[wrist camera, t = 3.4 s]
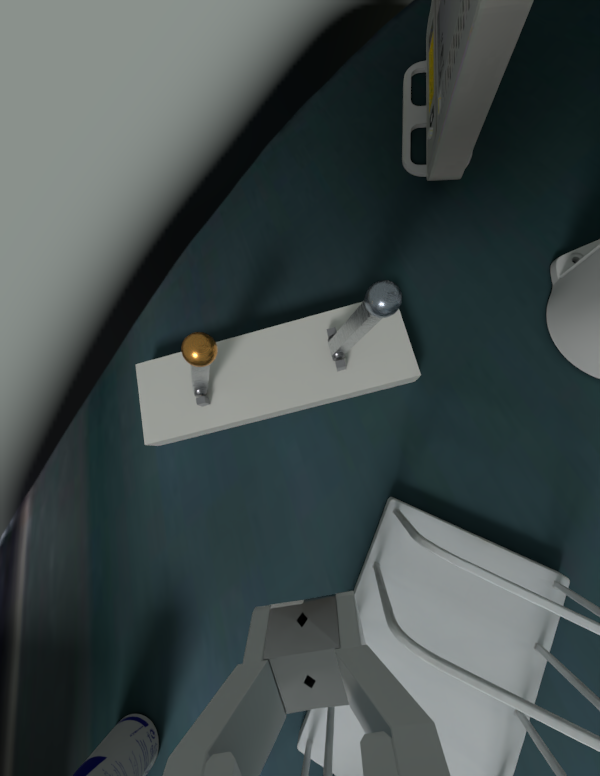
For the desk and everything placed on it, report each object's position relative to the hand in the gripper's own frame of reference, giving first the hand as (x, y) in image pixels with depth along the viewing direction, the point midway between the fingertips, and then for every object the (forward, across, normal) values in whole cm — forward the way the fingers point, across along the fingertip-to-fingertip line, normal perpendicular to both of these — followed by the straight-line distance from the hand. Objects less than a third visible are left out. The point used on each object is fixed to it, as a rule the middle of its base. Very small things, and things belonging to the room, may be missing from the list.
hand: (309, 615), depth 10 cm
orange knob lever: (+28, +12, -4) cm, 31 cm away
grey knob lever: (+28, -4, -4) cm, 29 cm away
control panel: (+32, +4, -2) cm, 32 cm away
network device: (+45, -25, -30) cm, 59 cm away
